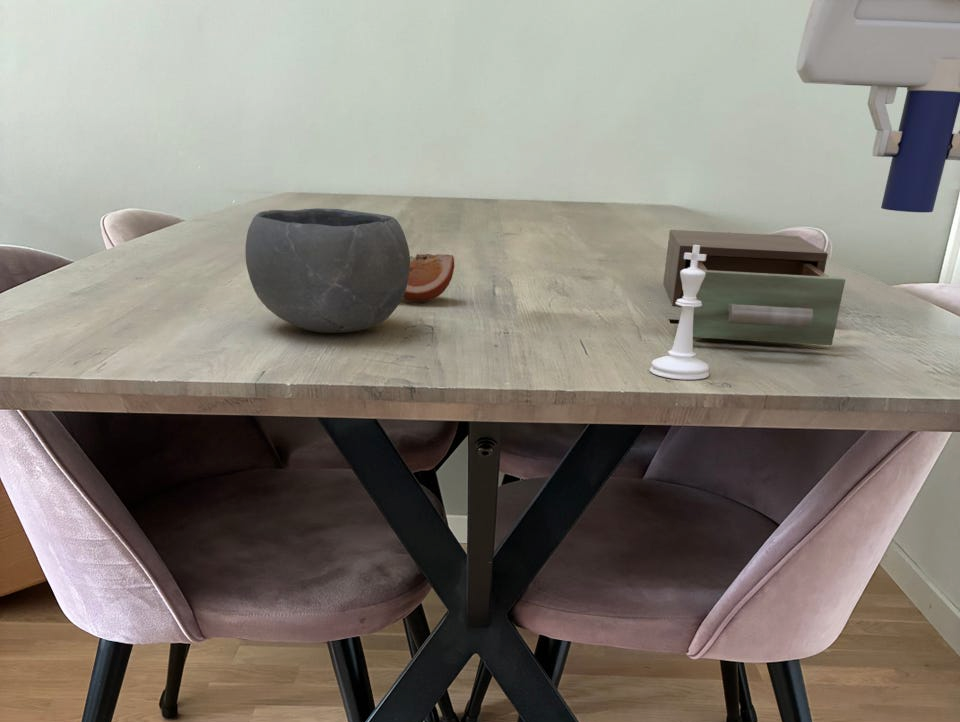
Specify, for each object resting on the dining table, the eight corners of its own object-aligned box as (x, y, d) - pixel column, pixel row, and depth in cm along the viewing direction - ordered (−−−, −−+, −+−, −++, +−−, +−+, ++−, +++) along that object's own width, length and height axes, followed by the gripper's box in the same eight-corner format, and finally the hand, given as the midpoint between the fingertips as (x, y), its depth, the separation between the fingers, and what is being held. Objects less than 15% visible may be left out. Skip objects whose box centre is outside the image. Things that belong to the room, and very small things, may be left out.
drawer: (842, 356, 84) (857, 287, 82) (689, 346, 85) (699, 278, 83) (802, 317, 101) (813, 258, 98) (674, 309, 102) (682, 251, 99)
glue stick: (924, 209, 76) (960, 62, 71) (940, 213, 72) (979, 60, 68) (874, 206, 76) (907, 60, 71) (887, 210, 73) (922, 57, 68)
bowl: (440, 327, 93) (442, 216, 88) (346, 354, 82) (342, 227, 77) (320, 309, 99) (316, 204, 94) (218, 330, 88) (207, 212, 83)
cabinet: (812, 332, 98) (828, 253, 95) (670, 323, 99) (680, 245, 96) (786, 305, 112) (799, 236, 108) (661, 298, 113) (669, 229, 109)
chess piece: (662, 363, 83) (678, 239, 78) (716, 371, 81) (736, 245, 76) (640, 373, 79) (655, 244, 75) (697, 383, 77) (716, 251, 72)
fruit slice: (372, 303, 103) (371, 254, 101) (384, 293, 109) (384, 246, 107) (448, 308, 102) (449, 258, 100) (457, 297, 108) (458, 250, 106)
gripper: (1106, -53, 68) (1042, 163, 75) (813, -63, 69) (777, 150, 76) (1150, -68, 62) (1077, 167, 69) (832, -78, 64) (791, 153, 71)
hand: (918, 158), depth 73 cm, fingers closed on glue stick, 4 cm apart
